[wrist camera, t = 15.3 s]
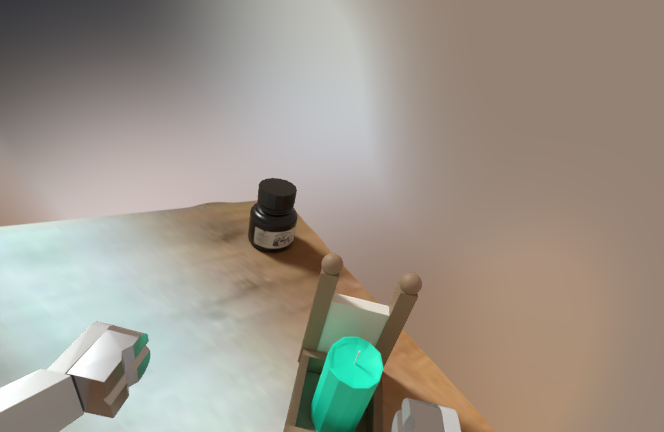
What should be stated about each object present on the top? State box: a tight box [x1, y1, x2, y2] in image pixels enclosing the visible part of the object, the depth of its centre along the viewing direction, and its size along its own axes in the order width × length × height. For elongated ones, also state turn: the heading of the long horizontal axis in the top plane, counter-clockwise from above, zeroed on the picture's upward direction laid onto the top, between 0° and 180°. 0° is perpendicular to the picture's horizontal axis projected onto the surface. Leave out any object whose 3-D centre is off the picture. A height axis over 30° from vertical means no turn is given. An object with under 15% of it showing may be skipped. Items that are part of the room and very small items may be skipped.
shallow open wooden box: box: [284, 348, 383, 432], centre depth 38 cm, size 10×10×3 cm
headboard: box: [298, 253, 422, 368], centre depth 40 cm, size 11×2×18 cm, turn 83°
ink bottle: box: [248, 178, 297, 252], centre depth 62 cm, size 10×9×12 cm
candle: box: [310, 337, 383, 432], centre depth 36 cm, size 6×6×12 cm
